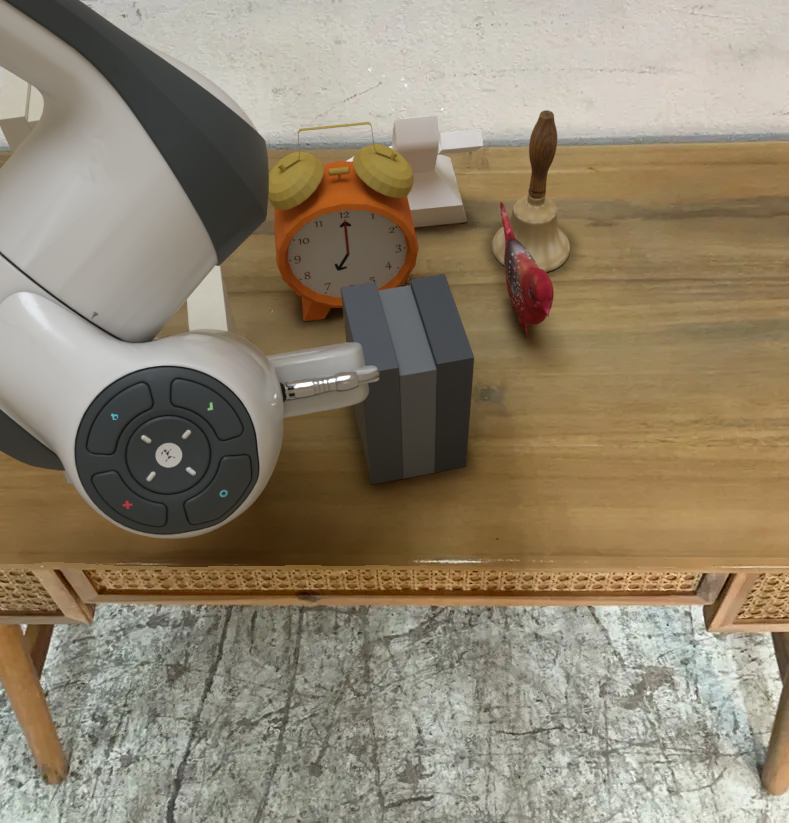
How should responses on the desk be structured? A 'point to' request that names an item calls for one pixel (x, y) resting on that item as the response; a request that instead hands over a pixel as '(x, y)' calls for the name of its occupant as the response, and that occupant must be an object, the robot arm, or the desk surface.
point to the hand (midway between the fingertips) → (223, 383)
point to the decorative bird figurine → (525, 280)
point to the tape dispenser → (433, 168)
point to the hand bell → (538, 205)
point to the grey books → (411, 377)
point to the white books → (18, 109)
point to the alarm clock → (342, 223)
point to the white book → (211, 304)
